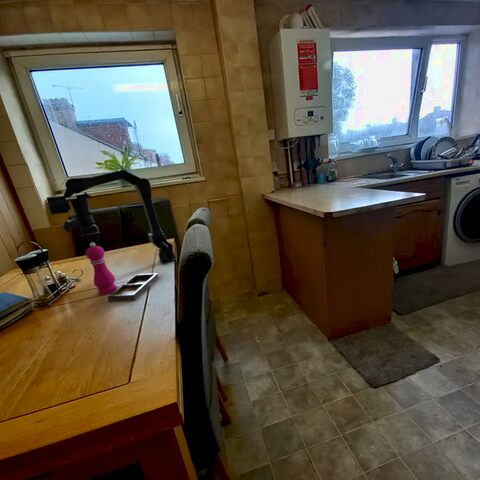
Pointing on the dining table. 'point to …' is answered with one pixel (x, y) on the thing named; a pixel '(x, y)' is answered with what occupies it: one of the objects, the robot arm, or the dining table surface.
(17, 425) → the dining table surface
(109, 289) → the pepper mill
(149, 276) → the stand
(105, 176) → the robot arm
